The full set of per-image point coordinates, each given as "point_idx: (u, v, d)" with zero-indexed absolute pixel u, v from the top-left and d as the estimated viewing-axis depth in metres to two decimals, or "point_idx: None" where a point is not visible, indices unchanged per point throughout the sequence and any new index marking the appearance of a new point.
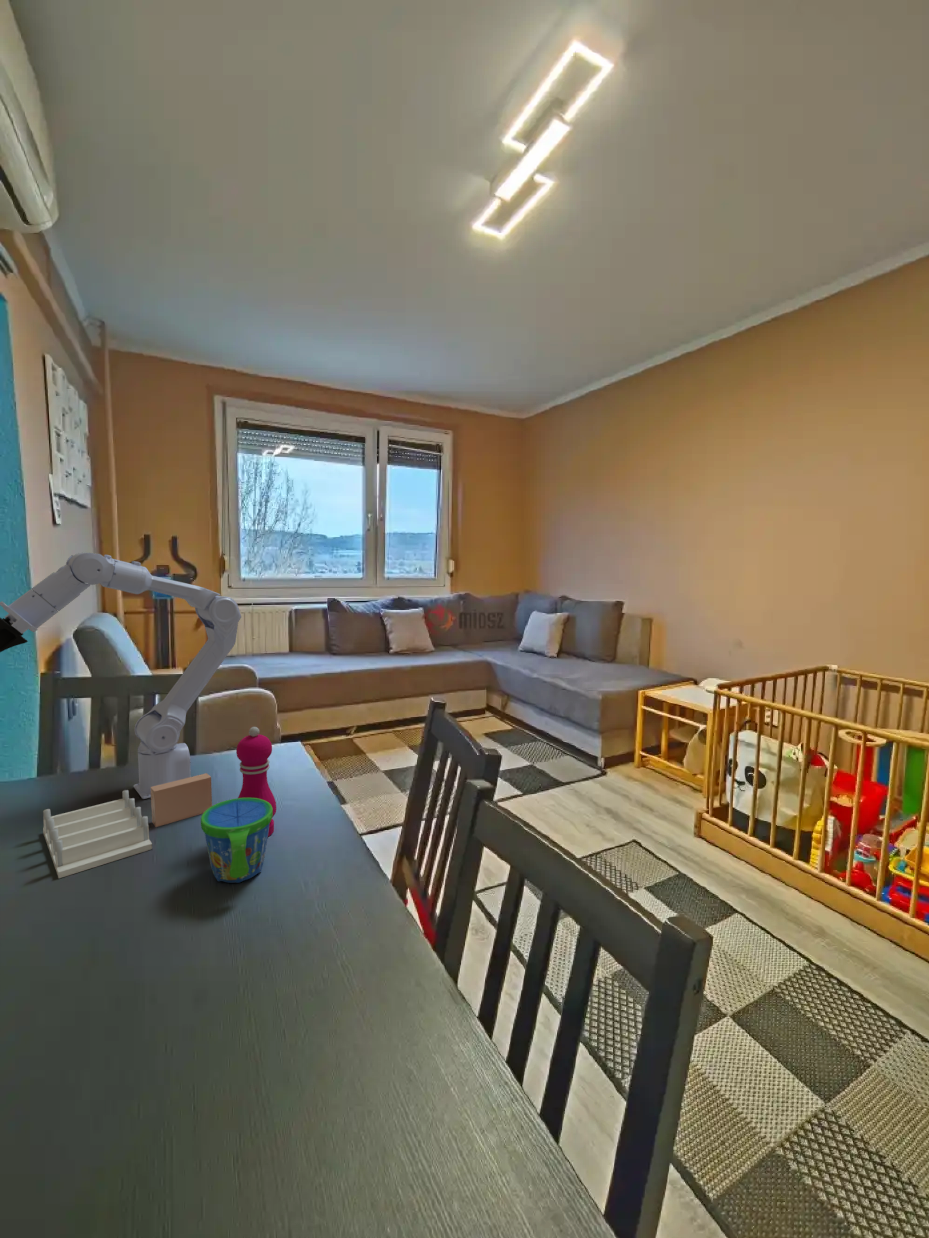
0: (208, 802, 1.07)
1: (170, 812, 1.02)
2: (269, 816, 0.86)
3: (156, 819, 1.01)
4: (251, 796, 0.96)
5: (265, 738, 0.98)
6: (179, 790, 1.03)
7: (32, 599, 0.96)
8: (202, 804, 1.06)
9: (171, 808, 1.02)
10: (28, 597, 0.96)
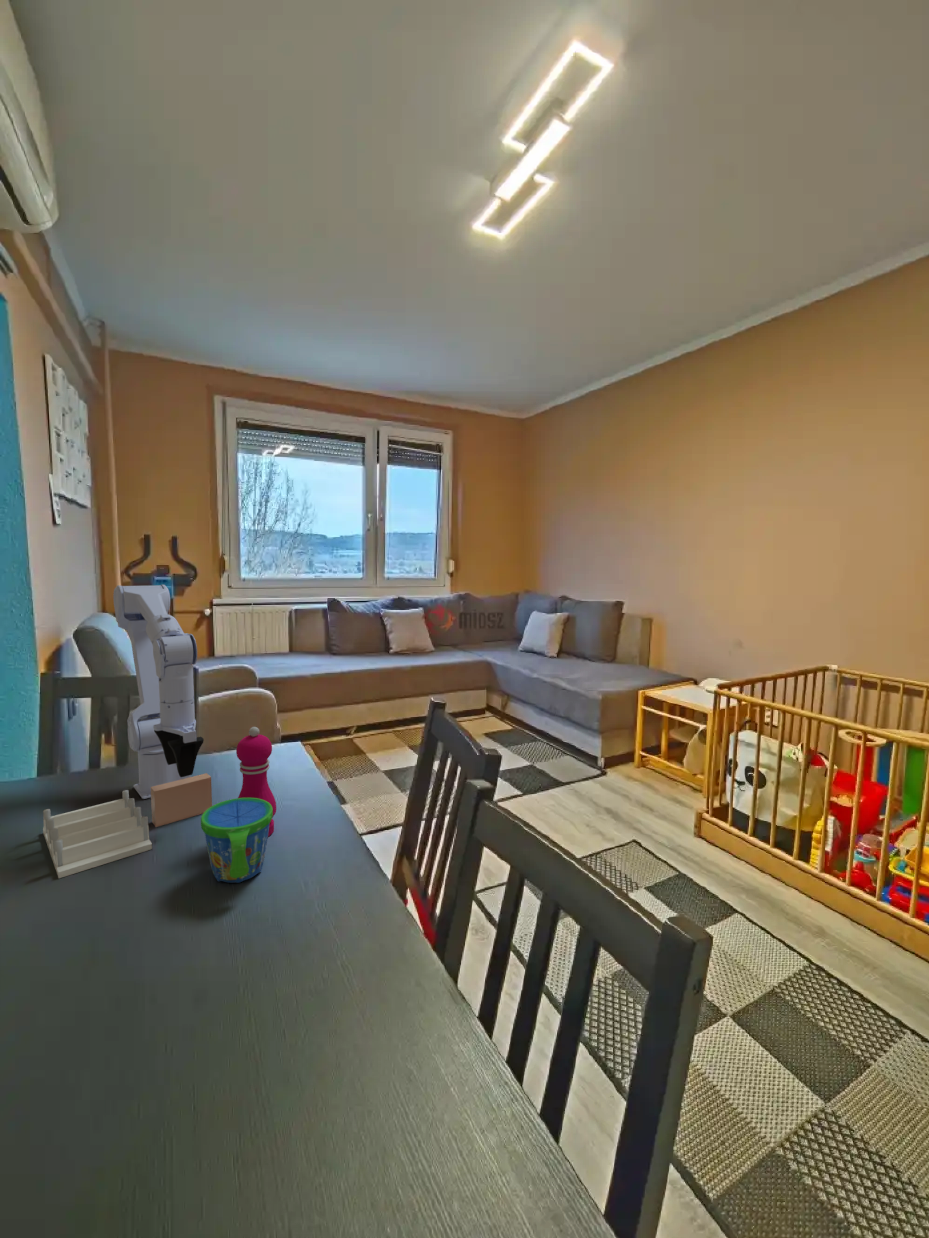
0: (208, 802, 1.07)
1: (170, 812, 1.02)
2: (269, 816, 0.86)
3: (156, 819, 1.01)
4: (251, 796, 0.96)
5: (265, 738, 0.98)
6: (179, 790, 1.03)
7: (171, 709, 0.99)
8: (202, 804, 1.06)
9: (171, 808, 1.02)
10: (167, 710, 0.99)
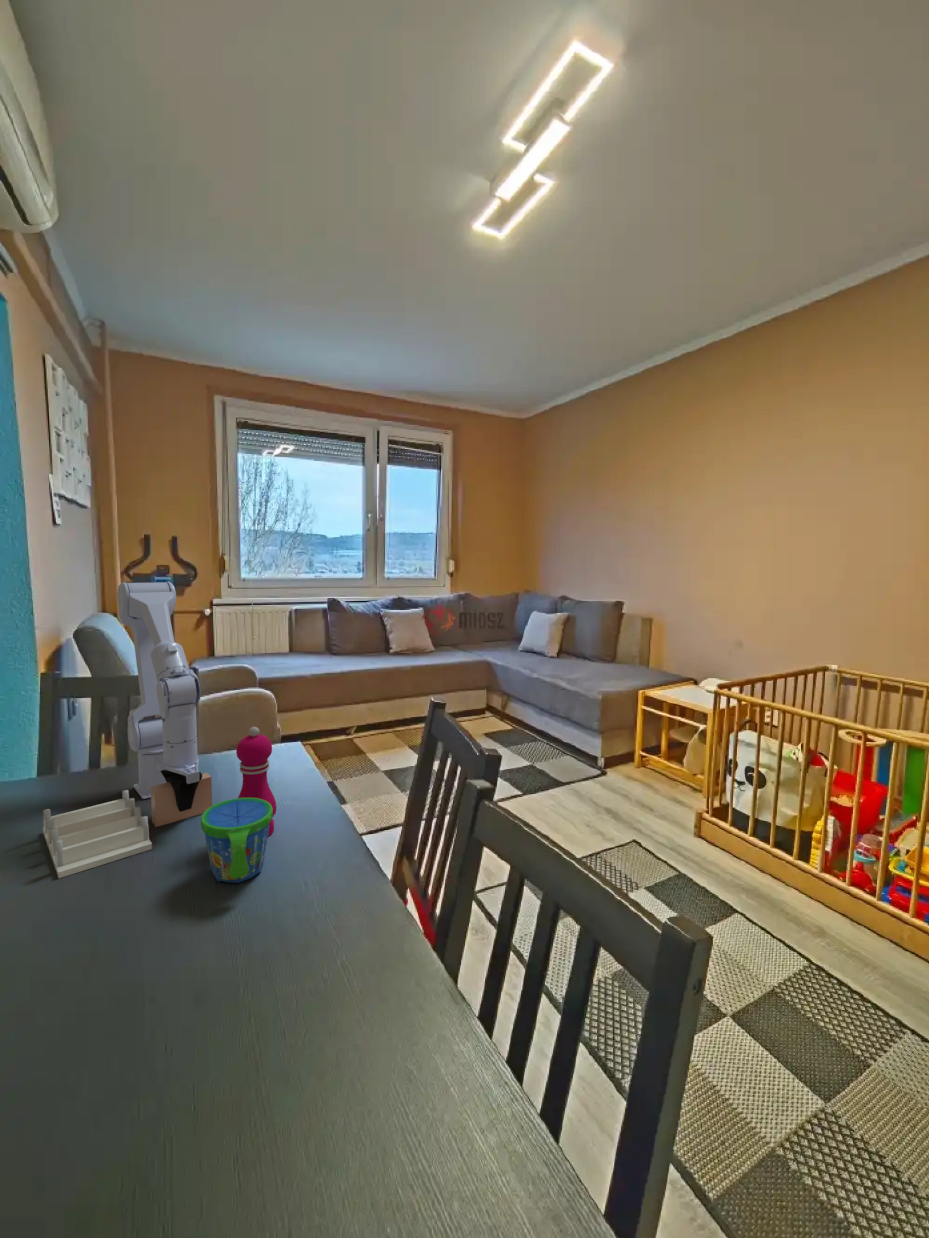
0: (208, 802, 1.07)
1: (170, 811, 1.02)
2: (269, 816, 0.86)
3: (156, 819, 1.01)
4: (251, 796, 0.96)
5: (265, 738, 0.98)
6: None
7: (174, 749, 1.01)
8: (202, 804, 1.06)
9: (171, 807, 1.02)
10: (171, 750, 1.01)
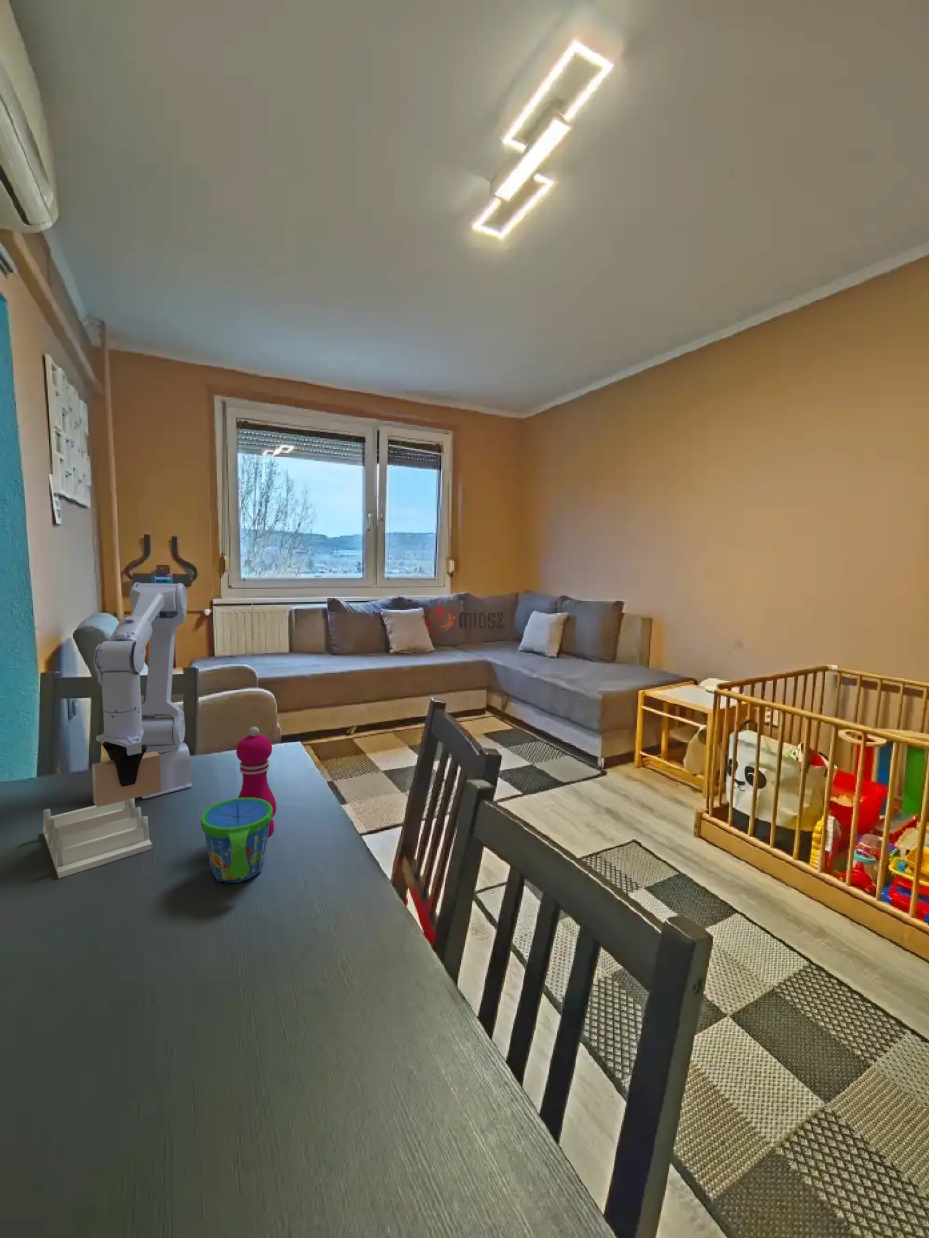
0: (156, 782, 1.00)
1: (113, 791, 0.95)
2: (269, 816, 0.86)
3: (97, 798, 0.94)
4: (251, 796, 0.96)
5: (265, 738, 0.98)
6: None
7: (115, 719, 0.93)
8: (150, 784, 0.99)
9: (115, 787, 0.95)
10: (111, 720, 0.93)
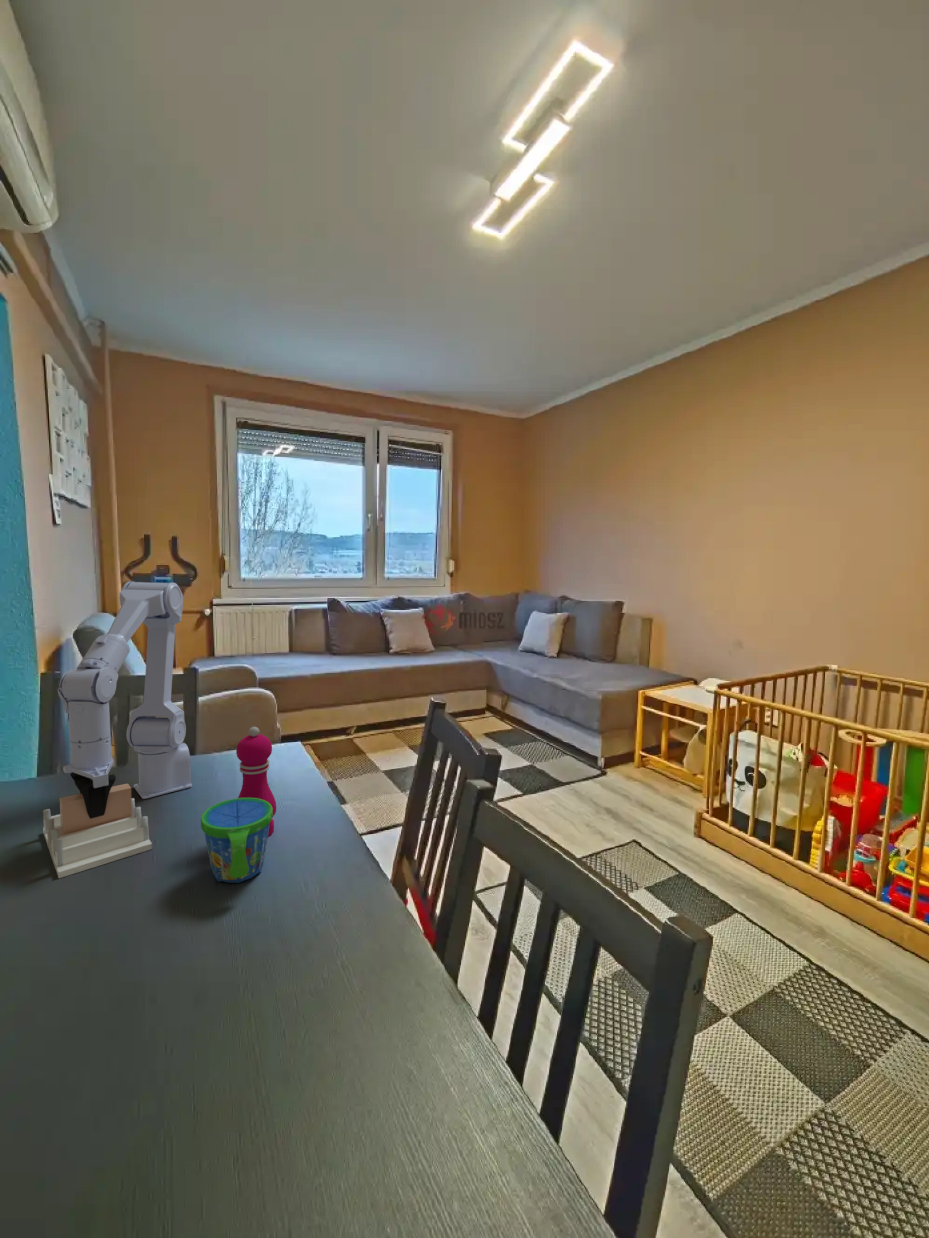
0: (127, 815, 0.97)
1: (80, 826, 0.93)
2: (269, 816, 0.86)
3: (64, 834, 0.91)
4: (251, 796, 0.96)
5: (265, 738, 0.98)
6: None
7: (82, 750, 0.91)
8: (120, 818, 0.97)
9: (83, 822, 0.93)
10: (78, 750, 0.91)
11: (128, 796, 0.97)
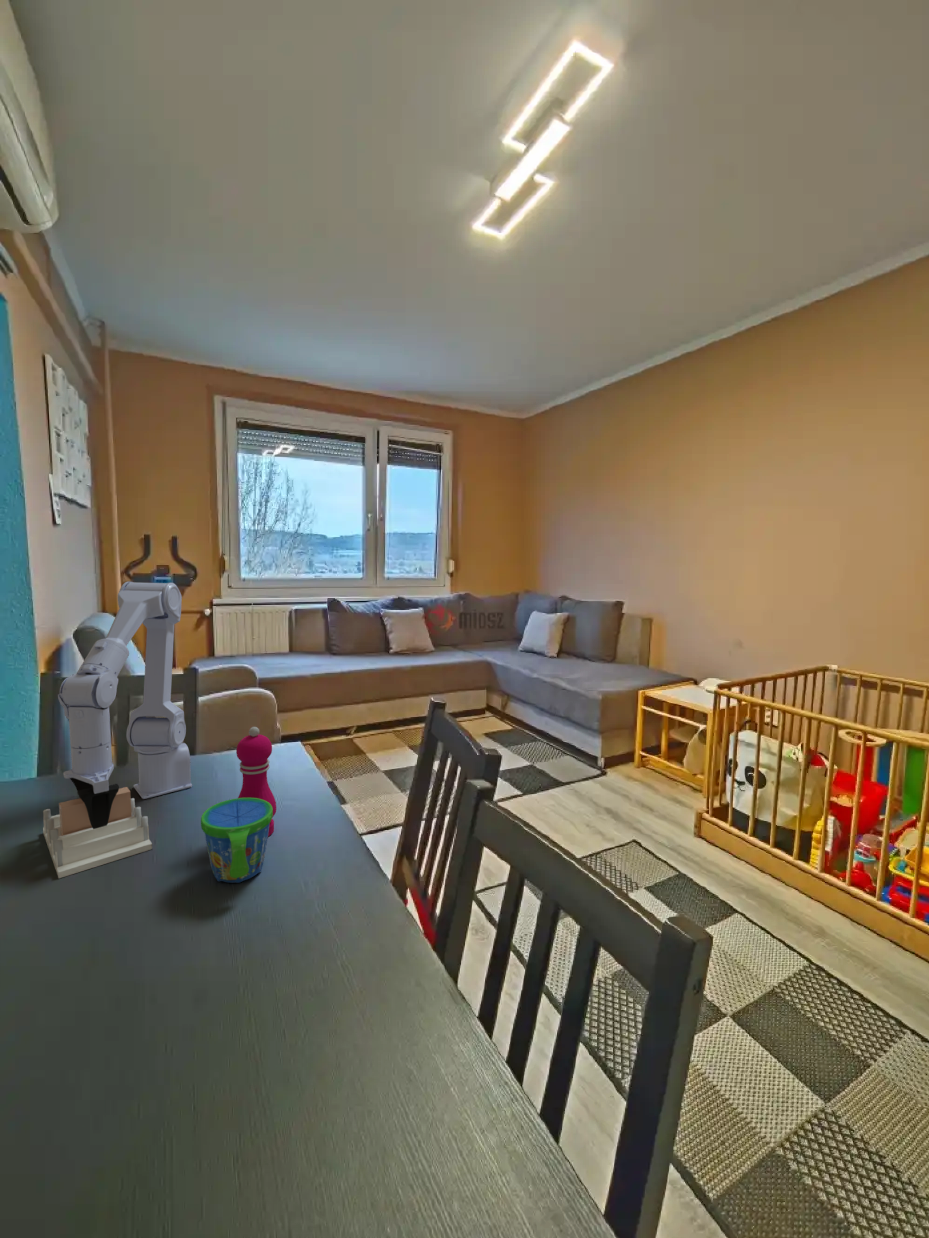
0: None
1: None
2: (269, 816, 0.86)
3: None
4: (251, 796, 0.96)
5: (265, 738, 0.98)
6: None
7: (82, 755, 0.91)
8: None
9: (82, 826, 0.93)
10: (78, 756, 0.91)
11: (127, 800, 0.97)
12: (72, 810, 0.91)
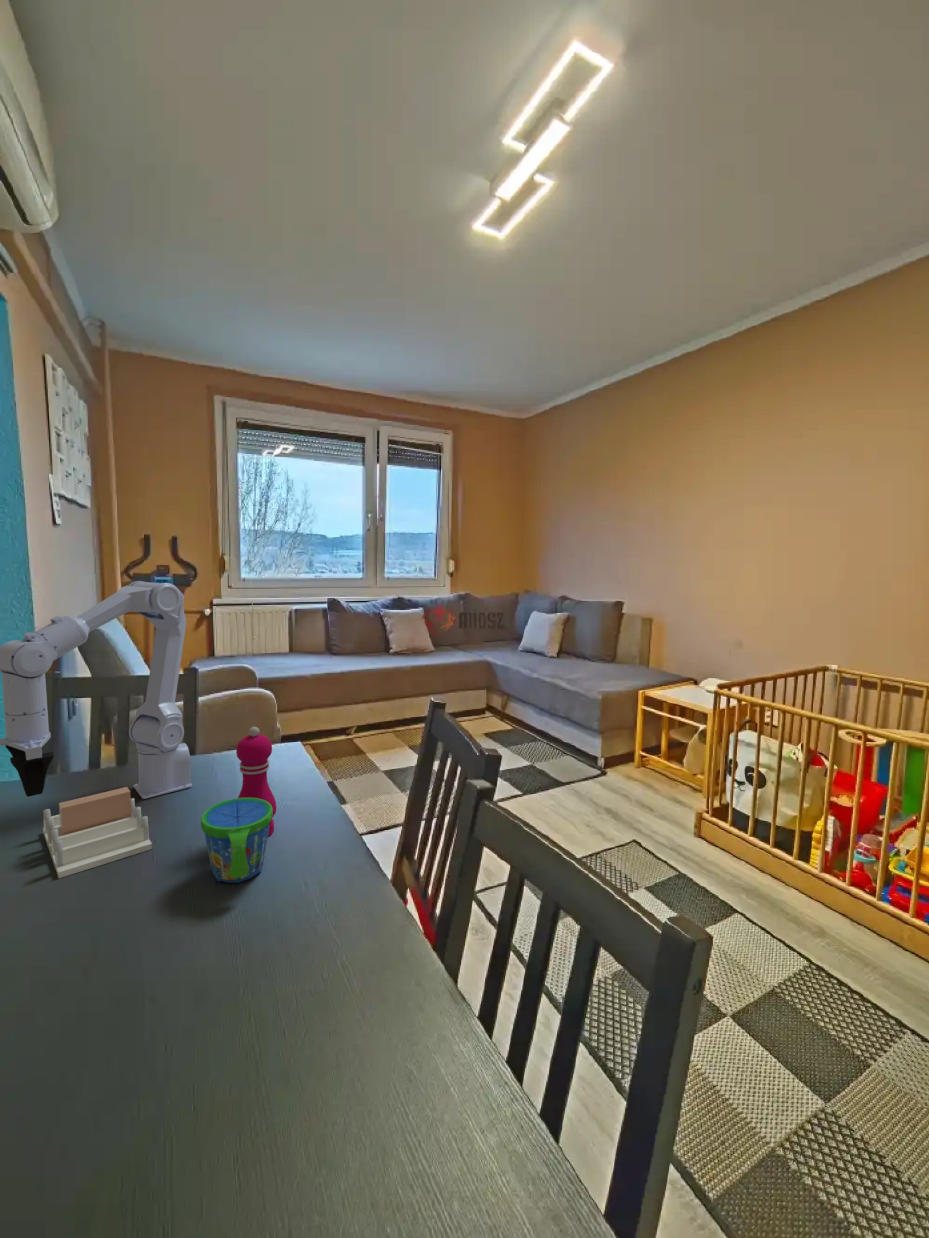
0: None
1: None
2: (269, 816, 0.86)
3: None
4: (251, 796, 0.96)
5: (265, 738, 0.98)
6: (91, 806, 0.93)
7: (16, 722, 0.90)
8: None
9: (82, 826, 0.93)
10: (12, 723, 0.90)
11: (127, 800, 0.97)
12: (72, 810, 0.91)
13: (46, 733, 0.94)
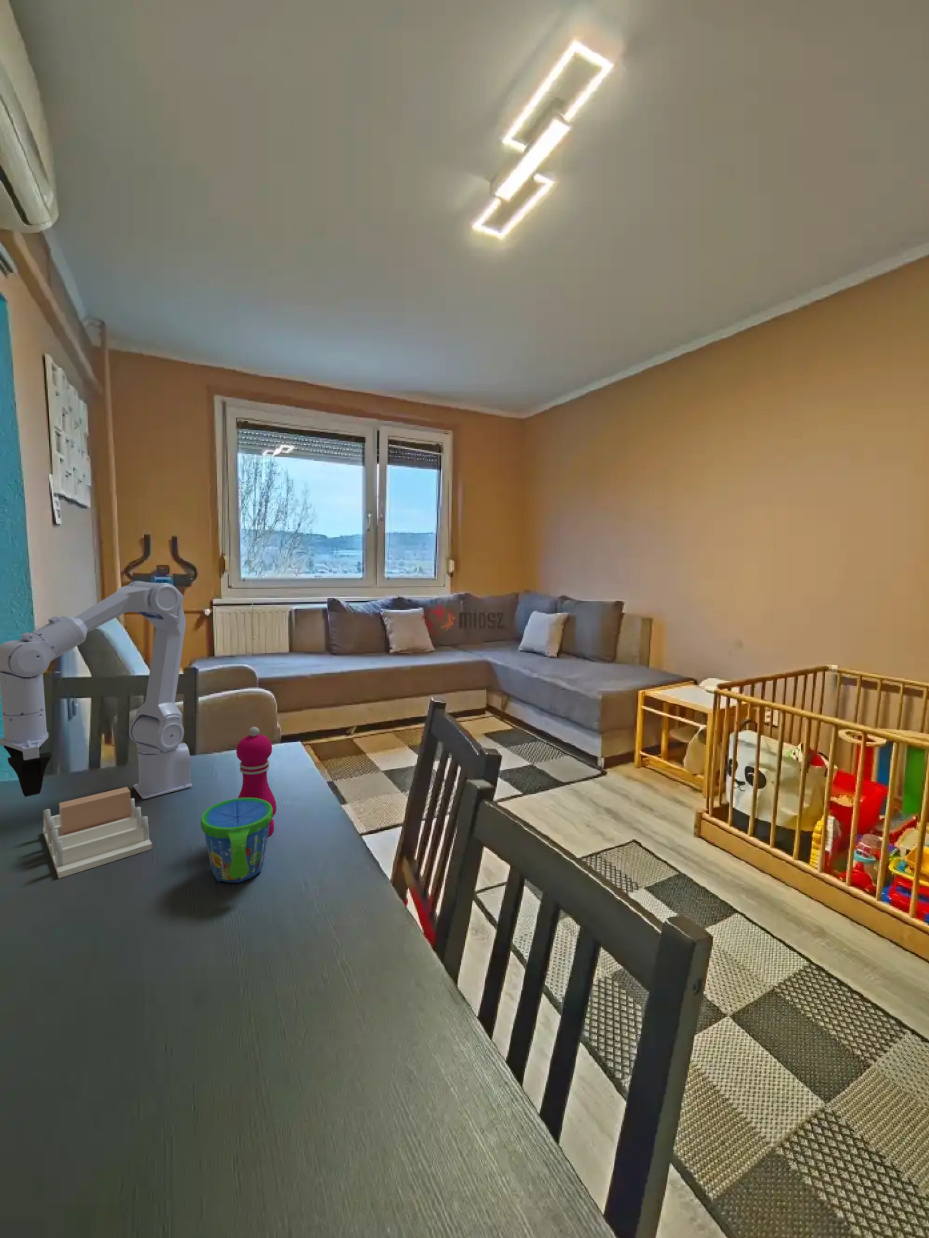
0: None
1: None
2: (269, 816, 0.86)
3: None
4: (251, 796, 0.96)
5: (265, 738, 0.98)
6: (91, 806, 0.93)
7: (13, 722, 0.90)
8: None
9: (82, 826, 0.93)
10: (9, 723, 0.90)
11: (127, 800, 0.97)
12: (72, 810, 0.91)
13: (44, 733, 0.94)
